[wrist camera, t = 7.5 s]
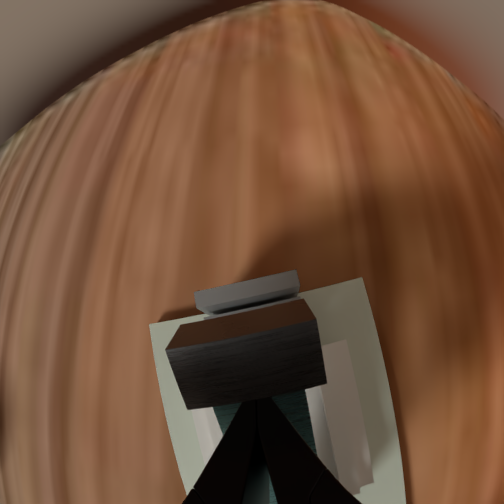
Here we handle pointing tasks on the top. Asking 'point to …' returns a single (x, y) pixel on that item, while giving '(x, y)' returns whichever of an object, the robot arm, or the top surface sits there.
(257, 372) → the lever
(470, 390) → the top surface
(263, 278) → the heatsink board
